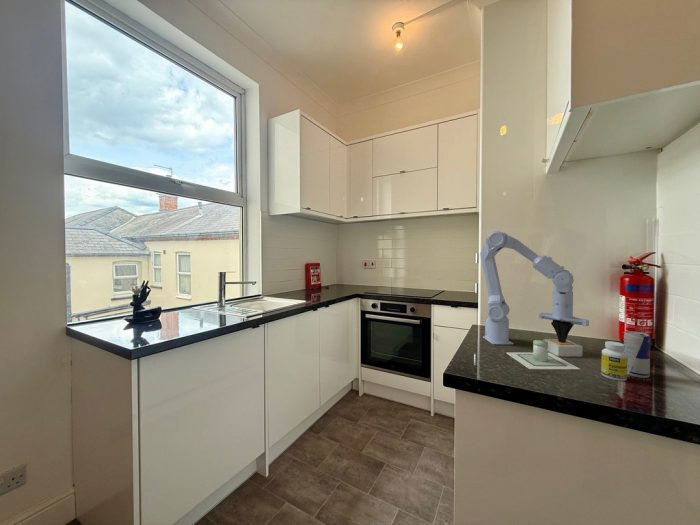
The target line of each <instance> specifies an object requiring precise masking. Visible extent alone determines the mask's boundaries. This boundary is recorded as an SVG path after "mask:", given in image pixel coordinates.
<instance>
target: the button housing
mask: <svg viewBox="0 0 700 525" xmlns="http://www.w3.org/2000/svg"><path fill="white" fill-rule="evenodd" d="M551 340H558V338H545V339H542V341H546V342H548V353H551V354H553V355H555V356H557V357H581V358H582V357H583V347H584V346H583V345H581V344H577V343H576V342H573V341H570V340H569V339H566V341H568V342H571V343H573V344H574V345H558V344H556V343H554V342H552V341H551Z"/></svg>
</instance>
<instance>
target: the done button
mask: <svg viewBox="0 0 700 525" xmlns="http://www.w3.org/2000/svg"><path fill="white" fill-rule="evenodd" d="M551 341H552V342H554V343H556V344H558V345H574V344H573V343H574V342H573V343H571V342H572V341H571V342H568V341H566V342H564V343H561V342H559V341H558V340H551Z"/></svg>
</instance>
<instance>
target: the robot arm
mask: <svg viewBox="0 0 700 525" xmlns="http://www.w3.org/2000/svg"><path fill="white" fill-rule="evenodd" d="M502 249H510V250H511V249H512V250H514V251H515V252H517V253H519V254H520V255H521V256H523V257H524V258H525V259H527V260H529V261H530V262H532V268H533V269H535V270H536V271H537V272H539V273H540V274H542V275H543V276H544V277H545V278H547V279H551V281H552V283H553V291H552V313H548V312H539V313H538V318H539V319H544V320H550V321H551V322H550V323H551V326H552V328H553V329H554V331H555V334H556V336H557V339H558V341H559V342H561V343H564V342H566V340H568V339H567V338H568V335H569V333H570V331H571V329H572V328H573V327H574V325H577V326H578V325H579V326H582V327H589V326H590V321H589V319H584V318H579V317H576V316H574V311H573V310H574V292H573V290H574V289H573V288H574V287H573V284H574V282H575V279H574V276H573V274H572V273H571V271H569V270H567V269H565V268H566V267H565V266H563V265H559V264H558V263H556V262H555V261H554V260H553V257H551V256H547V255H539V254H537V253H536V252H534V250H532V249H530V248H529V246H527V245H525V244H524V243H523V242H521V241H520V240H518V239H517V238H515V237H514V236H511V235H508V234H507V233H506V232H504V231H499V230H496V231H492V232H490V233H489V234H488V235H487V236H486V238H484V243H483V245H482V248H481V251H480V260H481V264H482V265H481V266H482V270H483V274H484V279H485V284H486V285H485V286H486V289H487V294H488V299H487V300H488V301H487V302H488V308H487V316H488V317H487V319H486V320H485V322H484V335H483V336H482V338H483V339H484V340H486V341H488V342H489V343H490V344H491V345H514V342H512V341H510V338H509V336H510V319H509V317H508V315H509V314H510V307H509V305H508V304H507V303H506V299H505V297H504V295H503V292H502V286H501V282H500V281H501V280H500V277H499V273H498V268H497V267H498V266H497V263H496V258H495V257H496V255H497V254H498V253H499V252H500V251H501V250H502Z"/></svg>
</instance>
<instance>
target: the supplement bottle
mask: <svg viewBox="0 0 700 525" xmlns="http://www.w3.org/2000/svg"><path fill="white" fill-rule="evenodd" d="M604 343H605V344H604V347H605V348H603V349H602V350H601V361H600V362H601V366H600V367H601V368H600V374H601V375H602V376H603V377H604V378H606V379H609V380H612V381H613V380H614V381H619V382H621V381H622V382H624V381H627V379H628V374H627V363H628V355H627V354H626V353H625V352H624V349H625V347H624V346H625V345H624V343H621V342H618V341H611V340H610V341H609V340H608V341H605V342H604Z"/></svg>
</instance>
